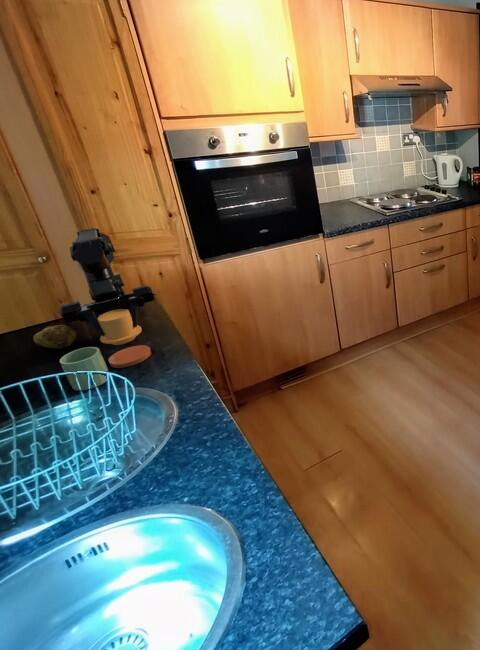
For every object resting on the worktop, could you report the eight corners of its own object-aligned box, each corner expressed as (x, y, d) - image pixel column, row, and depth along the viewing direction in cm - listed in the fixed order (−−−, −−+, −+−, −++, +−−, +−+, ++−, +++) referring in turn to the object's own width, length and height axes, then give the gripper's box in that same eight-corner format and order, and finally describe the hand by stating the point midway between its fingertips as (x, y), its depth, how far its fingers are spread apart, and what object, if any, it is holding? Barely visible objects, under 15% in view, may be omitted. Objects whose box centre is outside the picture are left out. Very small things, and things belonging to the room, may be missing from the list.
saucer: (103, 362, 122) (101, 358, 121) (140, 345, 129) (139, 342, 129) (120, 371, 118) (118, 367, 118) (158, 354, 125) (156, 350, 125)
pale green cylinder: (67, 385, 113) (54, 358, 110) (102, 369, 119) (90, 344, 115) (80, 394, 110) (67, 367, 106) (116, 377, 116) (104, 351, 112)
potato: (75, 334, 134) (64, 311, 131) (84, 350, 127) (72, 326, 124) (36, 346, 129) (24, 322, 125) (43, 363, 121) (30, 338, 118)
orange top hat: (94, 347, 118) (82, 321, 115) (124, 330, 126) (114, 305, 122) (123, 350, 117) (112, 324, 114) (151, 332, 125) (142, 308, 121)
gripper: (44, 277, 110) (63, 334, 107) (140, 258, 121) (159, 308, 119) (57, 295, 118) (75, 348, 115) (145, 275, 130) (163, 323, 127)
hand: (119, 331), depth 119 cm, fingers closed on orange top hat, 6 cm apart
